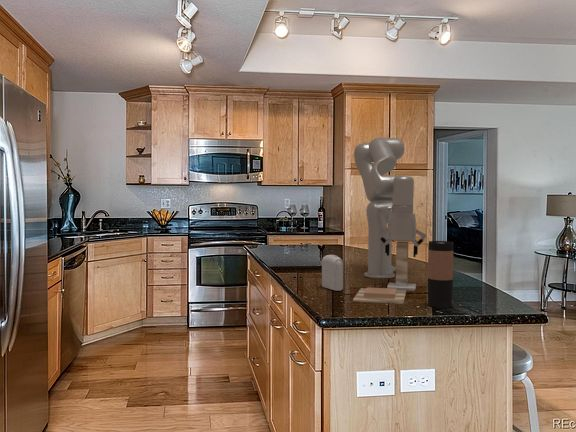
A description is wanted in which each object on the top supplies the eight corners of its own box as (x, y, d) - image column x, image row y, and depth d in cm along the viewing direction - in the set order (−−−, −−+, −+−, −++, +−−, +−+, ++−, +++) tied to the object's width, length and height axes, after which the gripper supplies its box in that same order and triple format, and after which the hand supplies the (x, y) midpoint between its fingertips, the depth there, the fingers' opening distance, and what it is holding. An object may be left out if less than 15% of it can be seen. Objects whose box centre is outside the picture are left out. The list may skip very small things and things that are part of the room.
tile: (367, 287, 186) (363, 292, 177) (396, 288, 184) (394, 294, 174) (367, 291, 186) (363, 297, 177) (396, 293, 184) (394, 299, 174)
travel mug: (423, 303, 171) (424, 240, 170) (446, 302, 172) (448, 240, 171) (432, 308, 163) (433, 243, 162) (456, 308, 164) (457, 243, 163)
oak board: (360, 290, 193) (360, 288, 193) (406, 292, 189) (406, 290, 189) (352, 301, 174) (352, 299, 174) (403, 304, 170) (403, 302, 169)
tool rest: (388, 284, 204) (388, 282, 204) (415, 285, 202) (415, 283, 202) (386, 289, 194) (386, 287, 194) (415, 290, 192) (415, 288, 192)
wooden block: (396, 284, 200) (397, 241, 200) (407, 284, 199) (408, 242, 198) (395, 286, 197) (396, 242, 196) (406, 286, 195) (407, 243, 195)
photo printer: (320, 286, 199) (320, 253, 199) (330, 285, 201) (330, 253, 200) (334, 291, 190) (334, 256, 189) (344, 290, 192) (345, 256, 191)
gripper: (377, 210, 195) (376, 256, 197) (426, 211, 191) (425, 259, 193) (379, 208, 203) (378, 253, 204) (426, 209, 198) (425, 255, 200)
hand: (401, 255), depth 198 cm, fingers open, 9 cm apart
